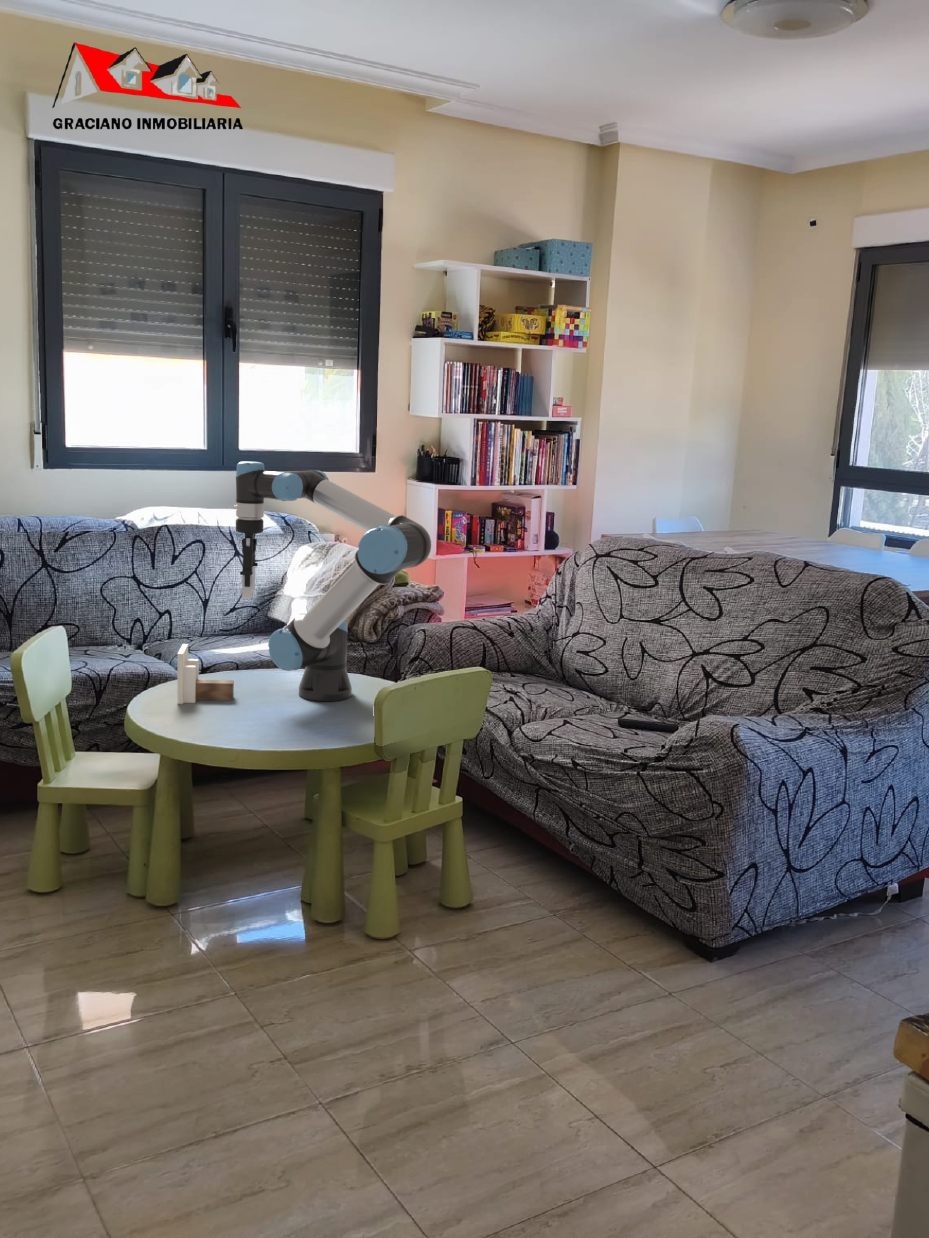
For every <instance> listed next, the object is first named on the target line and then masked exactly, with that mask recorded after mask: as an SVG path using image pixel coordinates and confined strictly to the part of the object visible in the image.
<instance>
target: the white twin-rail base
mask: <svg viewBox="0 0 929 1238" xmlns="http://www.w3.org/2000/svg"><path fill="white" fill-rule="evenodd" d="M199 663H200V662H199V658H189V643H182V645H181V646H180V648H179V650H178V651H177V704H178V705H183V704H184V703H185V704H186V703H188V704H190V703H191V704H195V703H196V701H197V700H196V680H200V678H199V675H200V673H199V670H200V669H199V667H200V666H199V665H200V664H199Z"/></svg>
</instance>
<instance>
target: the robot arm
mask: <svg viewBox="0 0 929 1238" xmlns="http://www.w3.org/2000/svg"><path fill="white" fill-rule="evenodd" d="M235 473H236V474H235V490H236V491H235V493H236V495H235V496H236V497H235V502H236V503H235V504H236V505H235V504H234V506H233V509H234V510H235V516H236V517H237V518H236V519H235V531H236V532H237V533H240V534H244V537H242V539H241V548H242V549H241V551H242V570H241V571H239V575H240V576H241V578H242V585H241V586H242V587H241V590H242V591H241V598H242V599H253V591H255V590H256V567H257V568H258V566H259V564H258V562H257V560H256V552H257V545H258V538H256V536H257V535H256V534H262V533H263V532H264V519H263V517H265V514H264V513H265V511H264V510H265V499H270V500H276V501H281V502H294V501H297V500H298V499H306V500H308V501H310V502H311V503H314V504H316V505H318V506H319V507H321V508H323V509H325V511H326V510H327V511H328V512H331V513H332V514H334V515H336V516H337V517H340V518H341V519H343V520H345V521H347V522H349V523H350V524H352V525H353V526H355V527H356V528H359V529H360V530H362V531H365V533H364V534H363V535H362V536H361V538H360V540H359V543H358V545H357V547H358V550H357V551H356V552H355V553H354V563H352V565H351V566H349V568H348V569H347V570H346V571H345V572H344V573H343V574H342V575H341V576H340V578H338V580H337V581H336V582H335V583H334V584H332V586H331V587H330V588H329V589H328V590H327V591H326V592H325V594H323V596H321V598H319V600H318V601H317V602H316V603H315V604H314V605H313V606H312V607H311V608H310V609H309V610H308V611H307V613H299V614H297V615H296V616H295V617H294V618H293V619H292V620H291V621H290V622H289V623H288V624H287V625H286V626H285V627H284V628H278V629H277V630H275V631H273V633H272V634H271V635H270V637H269V639H268V646H267V647H268V654H269V657H270V658H271V661H272V662H273V663H274V664H275V666H277V667H278V668H279V669H281V670H282V671H286V672H290V671H296V670H300V669H302V668H304V671H303V674H302V677H301V680H300V683H299V685H298V695H299V697H301V698H303V699H306V700H309V701H317V702H336V701H337V702H338V701H342V700H347V699H349V698H351V697H352V693H353V691H352V690H353V688H352V684H351V680H350V677H349V674H348V670H347V661H348V660H347V657H348V656H347V655H348V633H349V631H348V621H347V618H348V617H349V616H350V615H351V614H352V613H353V612H354V611H355V610H356V609H358V607H359V606H360V605H361V604H362V602H364V601H365V600H366V599H367V598H368V597H369V595H370V594H372V593H373V592H374V591H375V589H376V588H377V587H378V586H380V585H381V586H382V585H388V584H390V582H392V581H393V579H394V578H395V577H397V575H398V574H399V573H400V572H401V571H403V570H406V569H411V568H414V567H417V566H420V565H422V564H423V563H424V562H425V561H426V560H427V559H428V557H429V556H430V553H431V550H432V539H431V536H430V534H429V532H428V531H427V530H426V528H425V527H423V525H421V524H420V523H418V522H416V521H414V520H413V519H410V518H409V517H407V516H405V515H402V514H400V515H394V514H393V513H391V512H389V511H387V510H385V509H383V508H381V507H380V506H377V505H376V504H374V503H372V502H370V501H368V500H367V499H366V498H365V499H364V498H362V497H361V496H359V495H357V494H355V493H353V492H351V491H349V490H347V489H346V488H343V486H342V487H341V486H340V485H338V484H337V483H334V482H333V481H331V480H330V479H329V478H328V476H327V475H326V473H324V472H323V471H321V470H318V469H317V470H316V469H308V470H293V471H292V470H290V471H271V470H266V468H265V464H264V463H263V462H259V461H247V460H246V461H239V462H238V463H237V464H236V472H235Z"/></svg>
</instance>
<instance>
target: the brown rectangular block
mask: <svg viewBox="0 0 929 1238" xmlns="http://www.w3.org/2000/svg"><path fill="white" fill-rule="evenodd" d="M234 683H235V681H234V680H233V679H232V680H229V679H228V680H226V679H225V680H224V679H199V680H196V701H233V700H234V696H235V695H234Z"/></svg>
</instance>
